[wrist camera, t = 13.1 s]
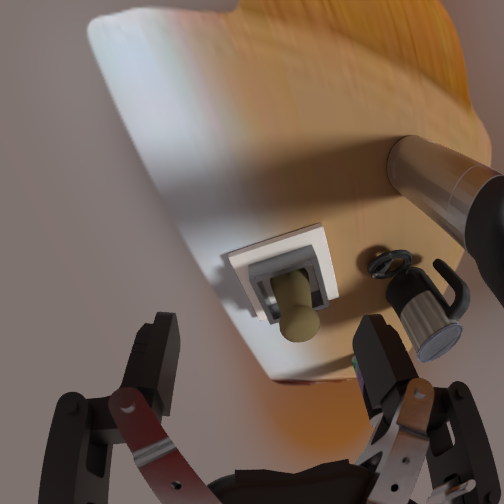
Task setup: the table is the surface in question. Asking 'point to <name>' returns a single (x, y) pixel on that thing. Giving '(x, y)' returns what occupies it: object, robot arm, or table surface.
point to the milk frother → (423, 303)
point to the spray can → (366, 395)
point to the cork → (295, 305)
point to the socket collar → (282, 266)
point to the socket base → (280, 246)
